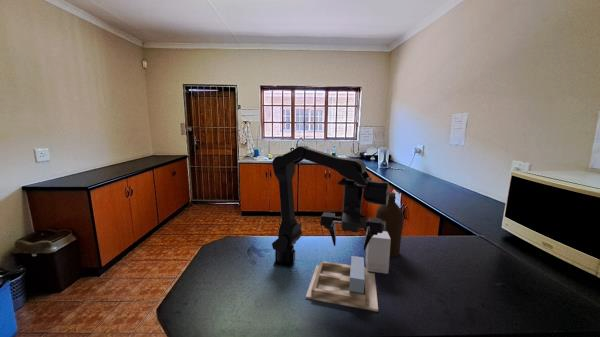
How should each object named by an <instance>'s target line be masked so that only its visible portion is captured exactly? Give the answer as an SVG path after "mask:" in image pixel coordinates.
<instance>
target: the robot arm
mask: <svg viewBox="0 0 600 337" xmlns="http://www.w3.org/2000/svg"><path fill="white" fill-rule="evenodd" d="M303 160H306V161H308V162H311V163H315V164H317V165H320V166H323V167H326V168H328V169H331V170H333V171H334V172H335V171H336V173H338V175H340V176H342V178H341V179H340V181H338V182H337V185H339V186H343V197H342V198H343V200H342V212H341V216H336V213H335V212H328V211H324V212H323V213H322V215H321V216H320V219H319V220H320V221H319V223H320V224H319V225H320V226H323V228H324V229H327V230H328V232H329V234H330V236H331V240H332V243H333V246H334V247H336V246H337V245H336V244H337V232H336V231H337V229H336V228H337V227H336V226H337V224H341V230H342V231H343V232H353V233H358V232H359V229H366V230H365V231H366V232H365V237H364V242H363V251H364V252H366V247H367V245H368V243H369V241H370V239H371V238H372V236H374V235H378V233H383V222H382V220H381V219H380V218H376V217H368V220H367V215H365V214H362V206H363V199H364V201H365V202H366V203H367V204H373V205H374V204H375V205H380V206H381V205H384V206H387V204H388V200H389V192H390V187H389V186H390V184H389V181H378V180H377V181H376V180H373V178H371V176H370V174H369V173H368V171H367V167H366V164H365V162H364V161H363V160H361V159H358V158H357V159H356V158H349V157H339V156H336V155H334V154H333V155H332V154H329V153H327V152H323V151H320V150H317V149H315V148H311V147H308V146H307V145H306V146H305V145H299V146H297V147H296V148H294V149H293V150H290V151H289V152H287V153H285V154H283V155H278V156H276V157H275V158H274V159H272V163H271V165H272V169H273V174H274V176H275V177H276V179H277V180H278V192H279V203H280V205H279V206H280V217H281V218H280V219H281V222H280V225H279V228H278V231H277V232H278V233H277V234H278V236H277V239H276V240H274V241H273V242H272V243H271V246H272V249H273V250H274V251H275V253H274V254H275V256H274V257H275V258H274V260H275V261H274V262H273V266H278V267H285V268H291V267H292V266H293V265H294V263H295V261H296V250H295V244H296V243H297V242H298V241H299V239H300V238H301V237H302V234H303V231H302V223H301V222H297V220H296V215H295V214H296V213H295V202H294V186H293V179H294V175H295V172H296V166H297V165H298V164H300V163H301V162H302V161H303Z"/></svg>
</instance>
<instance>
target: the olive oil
mask: <svg viewBox="0 0 600 337" xmlns="http://www.w3.org/2000/svg"><path fill="white" fill-rule="evenodd" d="M396 194H397V193H396V192H394V191H389V200H388V204H387V206H384V205H380V206H379V207H378V208H377V210H376V213H375V218H380V219H381V220H382V222H383V231H386V232H388V234H389V236H390V239H391V243H390V257H389V258H396V257H398V256H399V255H400V252H401V244H402V243H401V242H402V234H403V228H404V221H405V216H404V211H403V210H402V209H401V207H400V206H399V205H398V204H397V203H396V198H397V197H396Z"/></svg>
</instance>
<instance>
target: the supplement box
mask: <svg viewBox="0 0 600 337" xmlns="http://www.w3.org/2000/svg"><path fill="white" fill-rule="evenodd" d="M390 243H391V239H390V236H389V234H388V232H386V231H383V233H378V235H374V236H372V238H371V239H370V241H369V243H368V245H367V247H366V249H365V267H366V268H367V271H368V272H369V273H378V274H386V275H387V274H389V269H390V258H391V257H390Z"/></svg>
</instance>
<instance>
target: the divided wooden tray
mask: <svg viewBox="0 0 600 337" xmlns="http://www.w3.org/2000/svg"><path fill="white" fill-rule="evenodd" d="M350 270H351V264H345V263H337V262H331V261H324V260H323V261H322V260H320V263H319V265H318V264H316V266H315V269H314V272H313V275H312V277H311V280H310V283H309V286H308V289H307V292H306V294H305V299H309V300H315V301H320V302H324V303H329V304H335V305H341V306H347V307H352V308H356V309H360V310H361V309H362V310H368V311H373V312H379V303H378V295H377V294H378V293H377V284H376V276H375V272H369V271H367V268H366V266H364V279H365V280H364V295H362V294H356V293H350V292H349V285H350Z"/></svg>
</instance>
